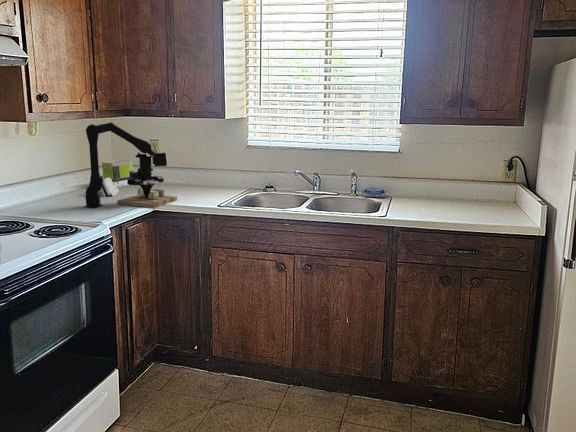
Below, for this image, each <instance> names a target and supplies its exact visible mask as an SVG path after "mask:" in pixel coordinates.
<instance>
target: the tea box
mask: <svg viewBox="0 0 576 432" xmlns="http://www.w3.org/2000/svg"><path fill="white" fill-rule="evenodd" d="M101 167H102V175H103V179H105V178H111V180H112V182H113V184H114V186H115V187H116V188H121V187H125V186H130V185H129V184H127V180H128V179H131V178H130V176H129V172H130V171H134V163H133V160H132V159H131V160H130V159H122V158H121V159H116V160H109V161H104V162H101Z"/></svg>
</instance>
